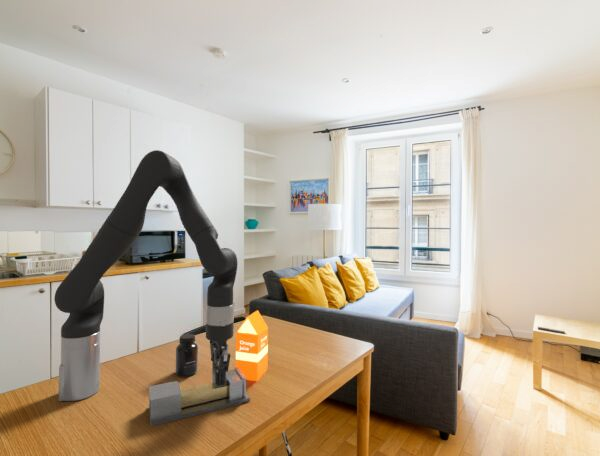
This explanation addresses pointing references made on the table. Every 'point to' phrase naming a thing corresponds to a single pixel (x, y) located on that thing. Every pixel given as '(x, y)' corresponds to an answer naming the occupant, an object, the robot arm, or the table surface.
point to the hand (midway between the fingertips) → (219, 381)
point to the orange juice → (252, 347)
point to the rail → (169, 404)
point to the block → (204, 392)
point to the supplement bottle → (186, 356)
